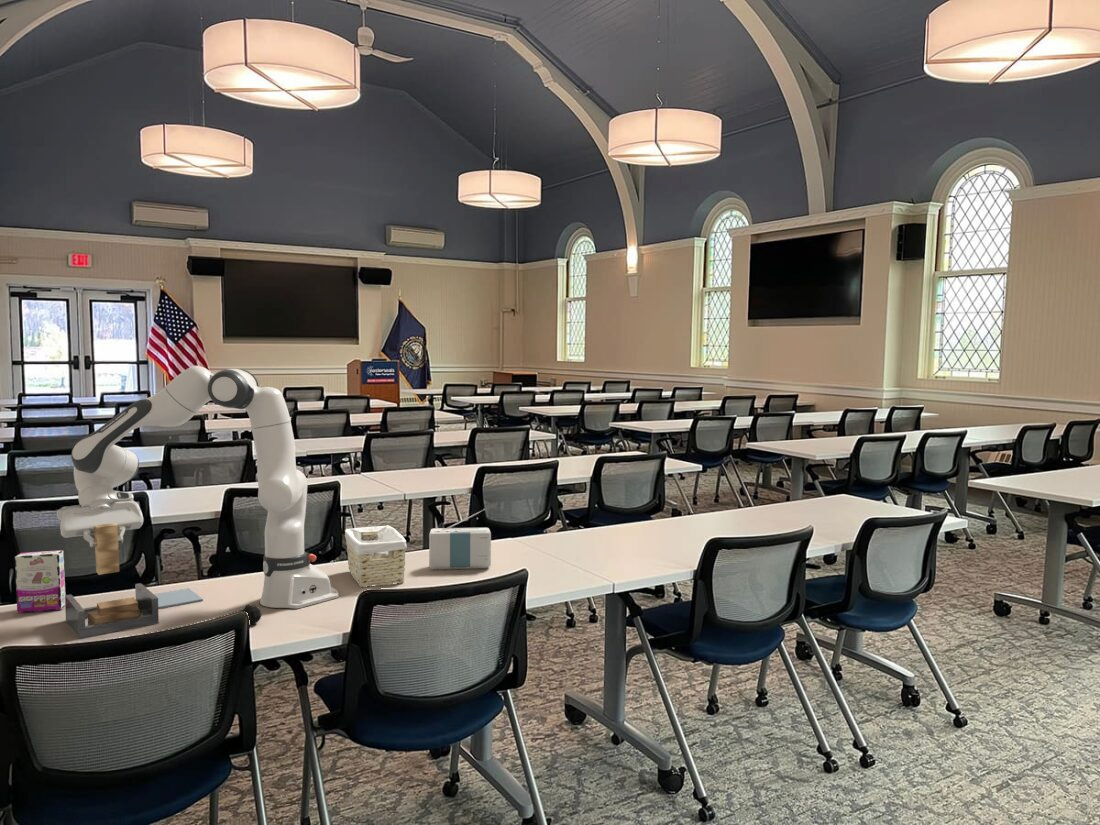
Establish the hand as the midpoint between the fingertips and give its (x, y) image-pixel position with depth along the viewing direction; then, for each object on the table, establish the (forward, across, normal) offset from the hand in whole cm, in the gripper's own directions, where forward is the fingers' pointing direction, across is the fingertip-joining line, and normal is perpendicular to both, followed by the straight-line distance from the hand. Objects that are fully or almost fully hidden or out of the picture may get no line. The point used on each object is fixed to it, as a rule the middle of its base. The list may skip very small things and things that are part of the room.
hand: (107, 543), depth 222 cm
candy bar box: (0, -13, +29) cm, 32 cm away
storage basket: (+21, +77, +10) cm, 80 cm away
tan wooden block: (+5, 0, +6) cm, 8 cm away
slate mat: (+10, +18, +20) cm, 28 cm away
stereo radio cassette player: (+26, +106, +6) cm, 109 cm away
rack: (+17, 0, +12) cm, 21 cm away
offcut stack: (+19, 0, +11) cm, 22 cm away
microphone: (+35, +22, -4) cm, 41 cm away
